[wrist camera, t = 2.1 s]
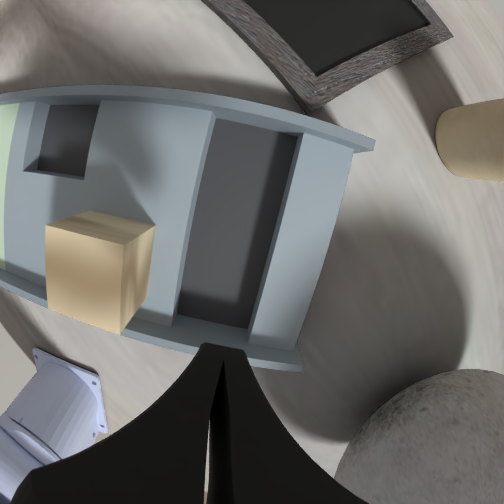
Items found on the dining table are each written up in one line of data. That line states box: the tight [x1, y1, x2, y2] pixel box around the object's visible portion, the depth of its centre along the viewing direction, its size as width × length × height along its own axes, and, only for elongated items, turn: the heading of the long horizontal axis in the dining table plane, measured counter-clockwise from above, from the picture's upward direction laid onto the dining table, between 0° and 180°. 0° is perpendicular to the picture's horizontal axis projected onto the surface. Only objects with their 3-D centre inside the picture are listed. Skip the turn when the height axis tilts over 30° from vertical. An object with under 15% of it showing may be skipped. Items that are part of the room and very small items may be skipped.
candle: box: [435, 98, 504, 183], centre depth 11 cm, size 6×6×10 cm
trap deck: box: [0, 85, 375, 373], centre depth 15 cm, size 14×31×4 cm, turn 77°
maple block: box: [45, 211, 156, 335], centre depth 13 cm, size 4×4×4 cm
